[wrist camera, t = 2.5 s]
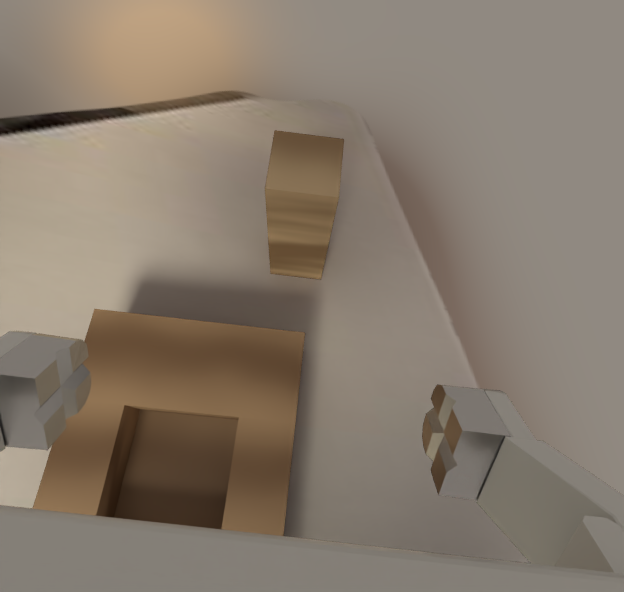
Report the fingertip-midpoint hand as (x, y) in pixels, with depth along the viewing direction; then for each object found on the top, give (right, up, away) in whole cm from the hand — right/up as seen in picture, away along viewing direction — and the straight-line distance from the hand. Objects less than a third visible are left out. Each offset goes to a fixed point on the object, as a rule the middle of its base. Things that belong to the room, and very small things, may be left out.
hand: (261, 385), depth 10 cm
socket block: (-6, -8, +14) cm, 18 cm away
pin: (0, +5, +20) cm, 21 cm away
